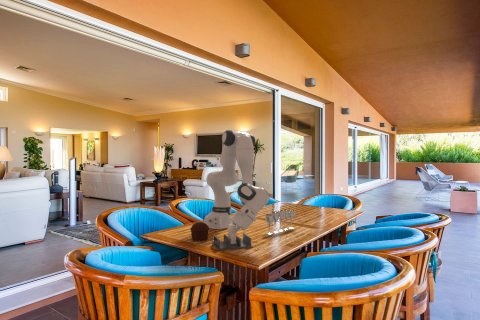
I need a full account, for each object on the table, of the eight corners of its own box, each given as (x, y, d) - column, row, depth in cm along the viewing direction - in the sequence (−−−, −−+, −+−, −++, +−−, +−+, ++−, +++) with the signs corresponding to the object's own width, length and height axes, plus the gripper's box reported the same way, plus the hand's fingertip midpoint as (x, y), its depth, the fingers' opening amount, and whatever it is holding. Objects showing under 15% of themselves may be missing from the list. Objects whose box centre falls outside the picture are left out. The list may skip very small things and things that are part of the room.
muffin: (191, 237, 190) (191, 220, 190) (209, 236, 191) (209, 220, 191) (189, 242, 178) (189, 224, 178) (208, 242, 179) (208, 224, 179)
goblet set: (270, 234, 196) (270, 213, 196) (263, 233, 200) (263, 212, 200) (297, 228, 215) (297, 208, 215) (290, 226, 219) (290, 207, 219)
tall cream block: (230, 244, 169) (230, 225, 169) (228, 241, 174) (228, 223, 174) (235, 243, 170) (236, 225, 170) (233, 241, 175) (233, 223, 175)
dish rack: (218, 250, 162) (218, 241, 162) (212, 243, 176) (212, 234, 176) (252, 247, 168) (252, 238, 168) (244, 240, 181) (244, 232, 181)
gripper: (238, 206, 184) (222, 223, 181) (250, 212, 164) (232, 231, 161) (245, 213, 185) (229, 230, 182) (257, 220, 166) (240, 239, 163)
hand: (231, 231), depth 172 cm, fingers open, 5 cm apart
